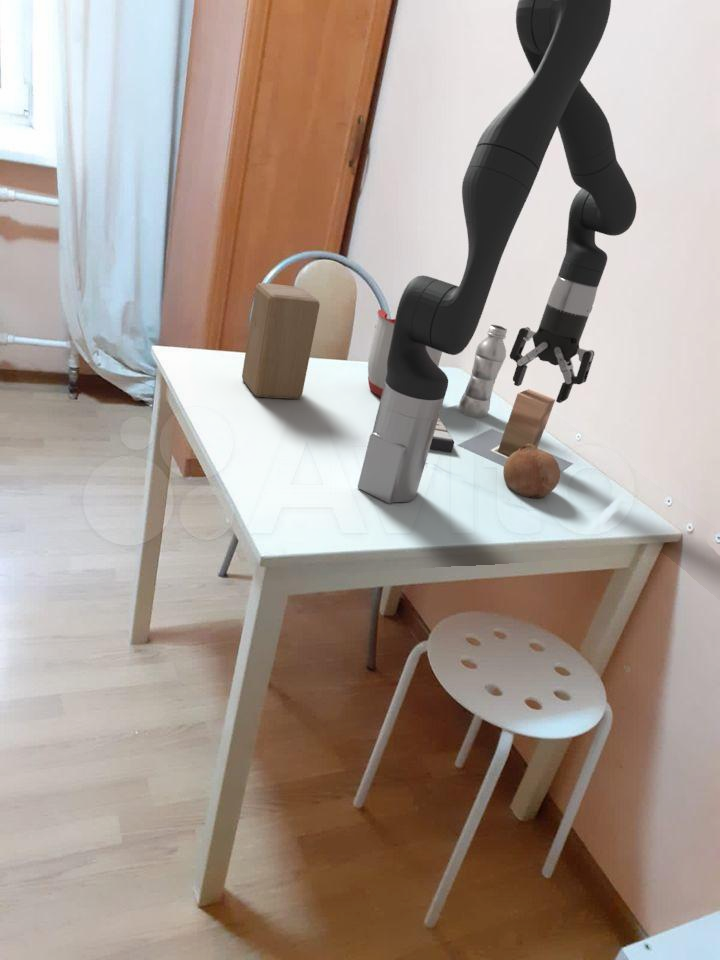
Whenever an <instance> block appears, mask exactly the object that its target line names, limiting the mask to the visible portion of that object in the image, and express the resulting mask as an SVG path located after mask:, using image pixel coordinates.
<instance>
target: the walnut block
mask: <svg viewBox="0 0 720 960" xmlns="http://www.w3.org/2000/svg"><path fill="white" fill-rule="evenodd" d="M544 430H545V429H544ZM544 430H542V431H540V432H538V433H536V434H532V433H529V432H527V431H525V430H522V429H520V428H517V427H515V426H513V425H510V424H508V422H507V423H506V426H505V430H504V432H503V433H504V434H503V437H502V440H501V443H500V446H499V449H498V452H499V453H501V454H504V455H506V456H508V457H509V456H510V455H511V454H513V453H514V452H516V451H518V450H519V449H520V448H521V447H523V446H525V444H527V443H528V444H529V443H530V444H532V445H534V446H536V447H537V448H538V449H539V445H540V442H541V438H542V437H543V434H544Z"/></svg>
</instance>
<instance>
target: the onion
mask: <svg viewBox="0 0 720 960" xmlns="http://www.w3.org/2000/svg"><path fill="white" fill-rule="evenodd" d="M539 449H540V448H538V449H537V447H536V446H534V445H532V444H530V443H529V444H528V443H527V444H525V446H523V447H521V448H520V449H519V450H518V451H516V452H514V453H513V454H511V455H510V456H509V458H508V459H507V460H506V462H505V465H504V466H503V474H502V475H503V480H504V483H505V484H506V486H507V488H508V489H510V490H511V491H513V492H514V493H516V494H518V495H520V496H523V497H527V498H530V499H538V500H540V499H543V498H544V497H545V496H547V495H548V494H550V493H552V492H553V491H554V490H555V488H557V487H558V485H559V481H560V477H561V473H560V469H559V465H558V463H557V461H556V460H555V459H554V457H553V456H552V455H553V454H552V453H550V452H548V451H545V450H543V449H541V450H539ZM542 450H543V451H542ZM544 451H545V452H544ZM547 452H548V453H547ZM549 453H550V454H549ZM551 454H552V455H551Z"/></svg>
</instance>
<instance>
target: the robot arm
mask: <svg viewBox="0 0 720 960" xmlns="http://www.w3.org/2000/svg"><path fill="white" fill-rule="evenodd" d="M611 7H612V0H518V2H517V6H516V11H515V24H516V25H515V26H516V32H517V37H518V40H519V43H520V45H521V47H522V51H523V53H524V55H525V58H526V60H527V62H528V64H529V67H530V68H531V71H532V74H533V75H532V77H531V78H530V79H529V81H528V82H527V84H526V85H525V86H523V88H522V89H521V90H520V91H519V93H517V95H516V96H515V97H514V98H512V100H510V102H509V103H508V104H507V105H506V106H504V108H502V110H501V111H500V112H499V113H498V114H497V115H496V116H495V117H494V118H493V120H492V121H491V122H490V123H489V124H488V126H487V127H486V128H485V130H484V131H483V133H482V134H481V136H480V138H479V140H478V142H477V144H476V146H475V149H474V151H473V154H472V156H471V159H470V161H469V164H468V165H467V168H466V170H465V174H464V176H463V179H462V185H461V197H462V198H461V199H462V200H461V201H462V207H463V215H464V220H465V226H466V233H467V234H466V235H467V241H468V243H467V244H468V253H467V259H466V264H465V270H464V273H463V276H462V279H461V282H460V284H459V286H458V285H456V284H452V283H451V282H446V281H445V280H444V281H443V280H441V279H438V278H434V277H430V276H428V275H417V276H415V277H413V278H412V279H411V280H410V281H409V282H408V284H407V285H406V287H405V288H404V290H403V292H402V295H401V297H400V299H399V303H398V306H397V311H396V313H395V314H396V315H395V324H394V329H393V334H392V340H391V345H390V350H389V354H388V360H387V376H386V380H385V384H384V388H383V392H382V396H381V397H380V400H379V405H378V409H377V413H376V416H375V420H374V426H373V427H372V428H373V429H372V433H370V435H369V440H368V442H367V448H366V452H365V455H364V458H363V459H364V460H363V463H362V466H361V472H360V476H359V480H358V484H357V489H359V490H361V491H363V492H366V493H367V494H369V495H371V496H373V497H375V498H377V499H379V500H380V501H383V502H385V503H387V504H389V505H390V504H392V503H407V502H411V501H413V500H414V499H416V497H417V495H418V490H419V487H420V484H421V479H422V476H423V472H424V469H425V466H426V463H427V458H428V455H429V452H430V445H431V442H432V439H433V435H434V432H435V428H436V425H437V421H438V418H439V419H440V413H441V410H442V407H443V404H444V400H445V396H446V394H447V390H448V387H449V386H448V385H449V378H448V376H447V374H446V372H445V371H443V370H442V369H441V368H440V367H439V365H438V366H437V365H436V364H435V363H434V362H433V361H432V359H431V358H430V356H429V354H428V352H427V350H426V346H428V347H431V348H433V349H436V350H438V351H441V352H442V353H445V354H447V355H450V356H456V355H459V354H461V353H462V352H463V351H464V350H465V349H466V348H467V347H468V345H469V344H470V342H471V340H472V339H473V336H474V335H475V332H476V331H477V327H478V326H479V323H480V320H481V317H482V314H483V312H484V309H485V305H486V303H487V301H488V298H489V295H490V291H491V288H492V285H493V282H494V279H495V276H496V274H497V271H498V268H499V265H500V264H501V263H500V262H501V260H502V257H503V254H504V252H505V249H506V247H507V244H508V242H509V239H510V238H511V235H512V232H513V230H514V228H515V226H516V224H517V221H518V219H519V217H520V215H521V213H522V210H523V208H524V206H525V203H526V202H527V199H528V197H529V194H530V193H531V191H532V188H533V186H534V183H535V181H536V179H537V177H538V174H539V171H540V169H541V166H542V165H543V164H542V163H543V160H544V158H545V155H546V153H547V152H548V151H547V150H548V149H549V146H550V143H552V142H551V141H552V140H553V137H554V134H555V133H556V130H558V133H559V135H560V138H561V142H562V145H563V149H564V153H565V158H566V162H567V165H568V169H569V173H570V177H571V179H572V181H573V183H574V184H575V185H576V186H578V187H579V188H580V189H579V191H578V192H577V193H576V194H575V196H574V197H573V199H572V202H571V204H570V208H569V212H568V221H567V235H566V247H565V255H564V256H563V260H562V263H561V266H560V269H559V272H558V274H557V278H556V280H555V281H554V284H553V286H552V288H551V291H550V294H549V296H548V299H547V302H546V305H545V307H544V311H543V314H542V318H541V320H540V323H539V326H538V329H537V331H533V330H531V328H530V327H528V326H527V327H522V328H519V330H518V333H517V335H516V338H515V341H514V343H513V346H512V348H511V351H510V354H509V358H510V359H511V360H513V361H514V362H515V363H516V367H515V370H514V374H513V376H512V381H513V385H514V386H516V387H520V386H521V385H522V383H523V381H524V377H525V375H526V372H527V369H528V366H527V365H528V364H529V363H530V362H532V361H533V360H536V359H537V358H538V359H539V360H540V361H541V362H548V363H550V365H553V366H558V367H559V370H560V372H561V373H562V376H563V379H564V382H562V383H561V386H560V389H559V392H558V395H557V397H556V399H555V402H556V403H559V404H561V403H563V402H565V401H567V399H568V398H569V397H570V394H571V390H572V388H573V386H574V385H582V384H584V383H585V382H587V379H588V376H589V372H590V369H591V367H592V362H593V360H594V356H595V351H594V350H592V349H589V350H587V349H584V348H580V341H581V339H582V338H581V337H582V335H583V333H584V330H585V327H586V324H587V322H588V319H589V316H590V315H591V312H592V310H593V305H594V303H595V300H596V296H597V291H598V288H599V285H600V282H601V280H602V277H603V274H604V271H605V268H606V265H607V262H608V254H607V253H606V252H605V251H604V250H603V249H601V248H600V247H599V246H598V245H597V244H596V232H597V233H599V234H603V235H606V236H612V237H613V236H616V237H617V236H619V235H622V234H624V233H625V232H627V231H628V230H629V229H630V228H631V226H632V225H633V223H634V221H635V218H636V215H637V207H638V206H637V200H636V199H637V198H636V195H635V192H634V189H633V187H632V185H631V184H630V181H629V180H628V178H627V176H626V175H625V172H624V170H623V168H622V167H621V165H620V163H619V162H618V159H617V155H616V150H615V145H614V140H613V139H614V138H613V134H612V130H611V127H610V123H609V121H608V119H607V116H606V115H605V113H604V110H603V109H602V107H601V106H600V104H599V103H598V102H597V101H596V99H595V98H594V97H593V95H592V94H591V93H590V92H589V90H588V89H587V88H586V86H585V85H584V83H583V82H582V80H581V79H582V77H583V75H584V74H585V72H586V69H587V68H588V66H589V64H590V62H591V60H592V59H593V57H594V55H595V53H596V51H597V48H598V47H599V44H600V42H601V40H602V39H603V36H604V33H605V31H606V28H607V25H608V21H609V17H610V12H611ZM531 339H532V342H533V345H534V348H533V349H532V350H530V351H528V352H527V353H526V354H525V355H524V356H523V351H524V349H525V345H526V344H527V342H529V341H531ZM576 355H578V360H579V362H580V365H579V368H578V371H577V374H576V375H575V372H574V364H573V361H572V358H573V357H575V356H576Z"/></svg>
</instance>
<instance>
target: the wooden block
mask: <svg viewBox="0 0 720 960" xmlns="http://www.w3.org/2000/svg"><path fill="white" fill-rule="evenodd" d="M253 297H254V298H253V304H252V310H251V316H250V321H249V323H250V324H249V328H248V335H247V341H246V348H245V355H244V359H243V367H242V373H241V377H242V381H243V382H244V383H245V385H246V386H247V387H248V388H249V390H250V391H251V393H252V394H253V395H254V396H255V397H257V398H272V399H274V398H276V399H294V400H295V399H296V400H299V399H301V398H302V396H303V392H304V387H305V381H306V376H307V372H308V368H309V367H308V366H309V362H310V357H311V352H312V351H311V350H312V347H313V341H314V336H315V331H316V325H317V322H318V321H317V320H318V315H319V311H320V305H321V304H320V301H319V300H318V299H316V298H315V296H313V295H311V294H310V293H309V292H308V291H306V289H304V288H303V287H301V286H300V287H299V286H291V285H284V284H278V283H277V284H276V283H267V282H259V283H257V284H256V286H255V290H254V296H253Z"/></svg>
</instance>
